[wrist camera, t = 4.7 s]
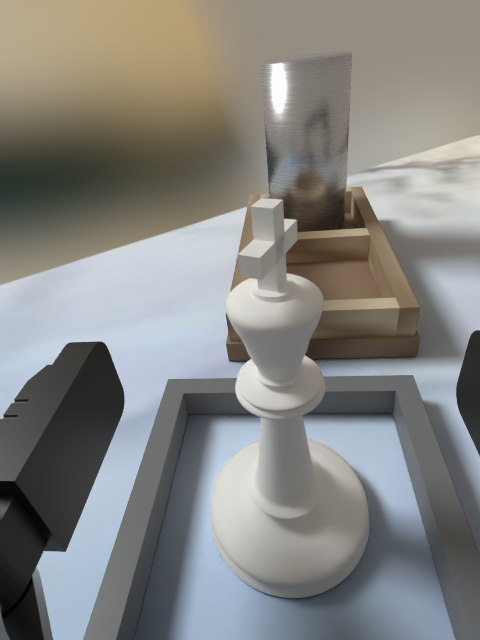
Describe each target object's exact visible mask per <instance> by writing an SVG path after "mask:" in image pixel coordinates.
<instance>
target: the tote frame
mask: <svg viewBox="0 0 480 640" xmlns="http://www.w3.org/2000/svg"><path fill="white" fill-rule="evenodd" d="M323 378H324V380H325V393H324V396H323V398H322V400H321V402H320V403H319V404H318V405H317V406H316V407H315V408H314V409H313V410H312V411H310V412H308V413H392V414H393V418H394V421H395V425H396V428H397V432H398V435H399V439H400V443H401V446H402V450H403V453H404V457H405V460H406V464H407V468H408V471H409V475H410V478H411V482H412V485H413V489H414V493H415V496H416V500H417V503H418V507H419V510H420V514H421V518H422V521H423V525H424V528H425V532H426V535H427V539H428V542H429V546H430V550H431V553H432V557H433V560H434V564H435V567H436V571H437V575H438V578H439V582H440V585H441V589H442V592H443V596H444V600H445V603H446V607H447V610H448V614H449V617H450V621H451V625H452V628H453V632H454V635H455V639H456V640H480V555H479V552H478V549H477V547H476V544H475V541H474V539H473V536H472V533H471V530H470V528H469V525H468V522H467V520H466V517H465V514H464V512H463V509H462V506H461V503H460V501H459V498H458V495H457V493H456V490H455V487H454V485H453V482H452V479H451V476H450V474H449V471H448V468H447V466H446V463H445V460H444V458H443V455H442V452H441V449H440V447H439V444H438V441H437V439H436V436H435V433H434V431H433V428H432V425H431V422H430V420H429V417H428V414H427V412H426V409H425V406H424V403H423V401H422V398H421V395H420V393H419V390H418V387H417V385H416V382H415V379H414V376H413V375H397V376H337V377H323ZM236 381H237V378H218V379H168V382H167V385H166V388H165V391H164V394H163V397H162V400H161V403H160V406H159V409H158V413H157V416H156V419H155V422H154V425H153V428H152V431H151V434H150V437H149V440H148V443H147V446H146V449H145V452H144V455H143V458H142V461H141V465H140V468H139V471H138V474H137V477H136V480H135V483H134V486H133V489H132V492H131V495H130V498H129V501H128V504H127V507H126V510H125V513H124V516H123V520H122V523H121V526H120V529H119V532H118V535H117V538H116V541H115V544H114V547H113V550H112V553H111V556H110V559H109V562H108V565H107V568H106V572H105V575H104V578H103V581H102V584H101V587H100V590H99V593H98V596H97V599H96V602H95V605H94V608H93V611H92V614H91V617H90V620H89V623H88V627H87V630H86V633H85V636H84V639H83V640H134V636H135V632H136V628H137V624H138V620H139V616H140V611H141V607H142V603H143V599H144V595H145V591H146V587H147V583H148V579H149V575H150V571H151V567H152V562H153V558H154V554H155V550H156V546H157V542H158V538H159V534H160V530H161V526H162V522H163V518H164V513H165V509H166V505H167V501H168V497H169V493H170V489H171V485H172V481H173V477H174V473H175V469H176V465H177V460H178V456H179V452H180V448H181V444H182V440H183V436H184V432H185V428H186V424H187V420H188V416H189V414H252V413H250V412H249V411H247V410H246V409H245V408H244V407H243V406H242V405H241V404H240V402H239V400H238V398H237V396H236V392H235V385H236Z"/></svg>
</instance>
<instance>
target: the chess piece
mask: <svg viewBox="0 0 480 640" xmlns="http://www.w3.org/2000/svg"><path fill="white" fill-rule="evenodd" d="M251 218H252V229H253V241H252V242H250V243H249V244H248V245H247V246H246V247H245V248H244V249H243V250H242V251H241V252H240V253H239V254H238V263H239V271H240V277H246V278H249V279H247V280H245V281H243V282H242V283H240V284H239V285H237V286H236V287H235V288H234V289H233V290H232V291H231V292H230V294H229V295H228V297H227V300H226V306H225V307H226V313H227V316H228V318H229V320H230V322H231V324H232V326H233V328H234V330H235V331H236V333H237V334H238V335H239V337H240V338H241V340H242V342H243V343H244V345H245V347H246V350H247V352H248V354H249V356H250V358H251V359H250V360H249V361H247V362H246V363H245V364H244V365H243V366H242V368H241V369H240V371H239V373H238V376H237V381H236V385H235V392H236V396H237V398H238V400H239V402H240V404H241V405H242V406H243V407H244V408H245V409H246V410H247V411H249V412H250V413H252V414H254V415H256V416H258V417H261V428H260V441H257V442H255V443H253V444H251V445H249V446H247V447H245V448H244V449H242V450H241V451H239V452H238V453H237V454H236V455H234V456H233V457H232V458H231V459H230V460H229V462H228V463H227V464H226V465H225V466H224V468H223V469H222V471H221V472H220V474H219V476H218V478H217V480H216V483H215V485H214V489H213V492H212V497H211V529H212V535H213V539H214V542H215V545H216V547H217V550H218V552H219V554H220V556H221V557H222V559H223V561H224V562H225V563H226V565H227V566H228V567H229V569H230V570H231V571H232V572H233V573H234V574H235V575H236V576H237V577H238V578H240V579H241V580H242V581H243V582H245V583H246V584H248V585H249V586H251V587H253V588H255V589H257V590H259V591H261V592H263V593H266V594H269V595H273V596H277V597H284V598H302V597H309V596H313V595H317V594H320V593H323V592H325V591H327V590H329V589H331V588H333V587H335V586H336V585H338V584H339V583H340V582H342V581H343V580H344V579H345V578H346V577H347V576H348V575H349V574H350V573H351V572H352V571H353V570H354V569H355V567H356V566H357V564H358V563H359V561H360V560H361V558H362V556H363V553H364V551H365V548H366V545H367V542H368V537H369V527H370V521H369V512H368V504H367V498H366V494H365V491H364V488H363V486H362V483H361V481H360V479H359V477H358V476H357V474H356V473H355V471H354V470H353V468H352V467H351V466H350V465H349V464H348V462H347V461H346V460H345V459H344V458H342V457H341V456H340V455H339V454H338V453H336V452H335V451H334V450H332V449H330V448H329V447H327V446H325V445H323V444H321V443H319V442H316V441H313V440H310V439H307V437H306V432H305V427H304V421H303V415H305V414H307V413H308V412H310V411H312V410H313V409H314V408H315V407H316V406H317V405H318V404H319V403H320V402H321V400H322V398H323V396H324V393H325V380H324V378H323V375H322V373H321V370H320V368H319V367H318V365H317V364H316V363H315V362H314V361H313V360H311V359H310V358H308V357H307V356H305V354H306V352H307V349H308V344H309V341H310V339H311V336H312V334H313V332H314V330H315V329H316V327H317V325H318V322H319V319H320V317H321V314H322V311H323V306H324V299H323V295H322V293H321V291H320V289H319V288H318V287H317V286H316V285H315V284H314V283H312V282H311V281H309V280H307V279H305V278H303V277H301V276H298V275H294V274H288V273H286V253H287V251H288V250H289V249H290V248H291V247H292V246H293V245H294V244H295V242H296V241H297V220H293V219H284V209H283V200H281V199H267V198H261V199H259V200H258V201H257V202H256V203H254V204H253V205H252V206H251Z"/></svg>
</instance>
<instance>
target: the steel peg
mask: <svg viewBox="0 0 480 640" xmlns="http://www.w3.org/2000/svg"><path fill="white" fill-rule="evenodd" d="M351 67H352V52H331V53H318V54H309V55H300V56H293V57H286V58H279V59H274V60H268V61H264V62H261V74H262V89H263V105H264V120H265V136H266V150H267V151H266V152H267V166H268V183H269V198H270V199H281V200H283V209H284V219H293V220H297V232H310V231H326V230H342V229H344V226H345V204H346V181H347V158H348V135H349V112H350V88H351Z"/></svg>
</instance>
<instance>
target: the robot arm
mask: <svg viewBox="0 0 480 640" xmlns="http://www.w3.org/2000/svg"><path fill="white" fill-rule="evenodd" d="M456 397H457V404H458V408H459V411H460V414H461V416H462V418H463V421H464V423H465V425H466V427H467V429H468V431H469V434H470V436H471V438H472V440H473V442H474V444H475V447H476V449H477V451H478V453H479V455H480V330H477V331H474V332H473V333H472V334H471V336H470V339H469V342H468V346H467V350H466V353H465V357H464V361H463V364H462V368H461V371H460V375H459V379H458V382H457V388H456ZM14 400H15V402H14V403H12V404H11V405H10V406H9V408H8V409H7V411H6V412H5V413H4V418H3V419H0V640H53V637H52V632H51V627H50V622H49V617H48V612H47V607H46V602H45V597H44V592H43V587H42V582H41V577H40V574H39V571H38V569H37V567H36V566H37V564H38V562H39V560H40V557H41V555H42V553H43V551H61V552H66V550H67V547H68V545H69V542H70V540H71V537H72V535H73V533H74V530H75V528H76V525H77V523H78V520H79V518H80V516H81V513H82V511H83V508H84V506H85V503H86V501H87V499H88V496H89V494H90V491H91V489H92V486H93V484H94V482H95V479H96V477H97V474H98V472H99V469H100V467H101V465H102V462H103V460H104V457H105V455H106V452H107V450H108V448H109V445H110V443H111V440H112V438H113V435H114V433H115V431H116V428H117V426H118V423H119V421H120V418H121V416H122V413H123V409H124V391H123V387H122V385H121V382H120V379H119V377H118V374H117V371H116V369H115V366H114V363H113V361H112V358H111V355H110V353H109V350H108V348H107V346H106V345H105V344H104V343H103V342H73V343H68V344H67V345H66V346H65V347H64V348H63V350H62V351H61V353H60V354H59V356H58V357H57V359H56V360H55V362H54V363H53V365H47V366H46V367H44V368H43V369H42V370H41V371H39V372H38V373H37V374H36V375H34V376H33V377H32V378H31V379H30V380H28V381H27V383H26V384H25V385H24V387H23V388H22V390H21V391H20V392H19V394H18V395H17V397H16V398H15V399H14Z"/></svg>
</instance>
